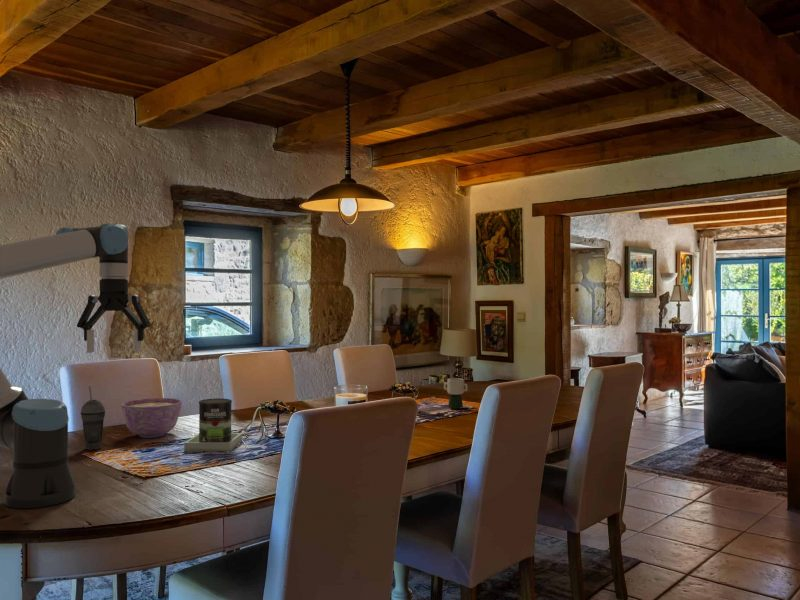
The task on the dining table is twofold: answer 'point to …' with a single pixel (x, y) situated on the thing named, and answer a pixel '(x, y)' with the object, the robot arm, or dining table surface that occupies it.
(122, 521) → the dining table surface
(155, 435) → the bowl of food
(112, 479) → the dining table surface
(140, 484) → the dining table surface
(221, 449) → the tray
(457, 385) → the character mug
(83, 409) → the beverage cup
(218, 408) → the coffee can
